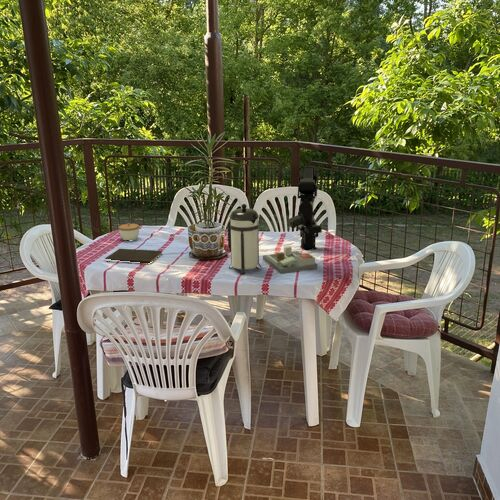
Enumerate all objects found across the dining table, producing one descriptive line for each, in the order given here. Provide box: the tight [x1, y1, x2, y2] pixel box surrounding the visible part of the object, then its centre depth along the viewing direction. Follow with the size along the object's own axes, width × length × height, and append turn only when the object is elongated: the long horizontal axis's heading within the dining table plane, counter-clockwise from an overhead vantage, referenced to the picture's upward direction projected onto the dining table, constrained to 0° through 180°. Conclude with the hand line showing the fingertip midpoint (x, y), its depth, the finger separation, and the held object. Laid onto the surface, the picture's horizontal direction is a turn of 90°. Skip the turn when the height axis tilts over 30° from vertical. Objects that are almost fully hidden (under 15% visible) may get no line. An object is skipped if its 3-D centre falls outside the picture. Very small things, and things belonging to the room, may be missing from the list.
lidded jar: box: [118, 222, 140, 241], centre depth 280 cm, size 11×11×9 cm
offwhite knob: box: [283, 245, 293, 256], centre depth 245 cm, size 3×2×4 cm
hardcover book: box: [104, 248, 163, 263], centre depth 251 cm, size 16×23×2 cm
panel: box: [262, 250, 318, 275], centre depth 239 cm, size 18×21×5 cm
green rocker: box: [280, 256, 295, 266], centre depth 230 cm, size 6×4×1 cm, turn 109°
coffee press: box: [227, 203, 263, 275], centre depth 230 cm, size 17×16×30 cm
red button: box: [301, 253, 311, 259], centre depth 234 cm, size 4×4×4 cm
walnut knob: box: [275, 251, 284, 262], centre depth 236 cm, size 3×2×4 cm
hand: (306, 243), depth 231 cm, fingers closed
